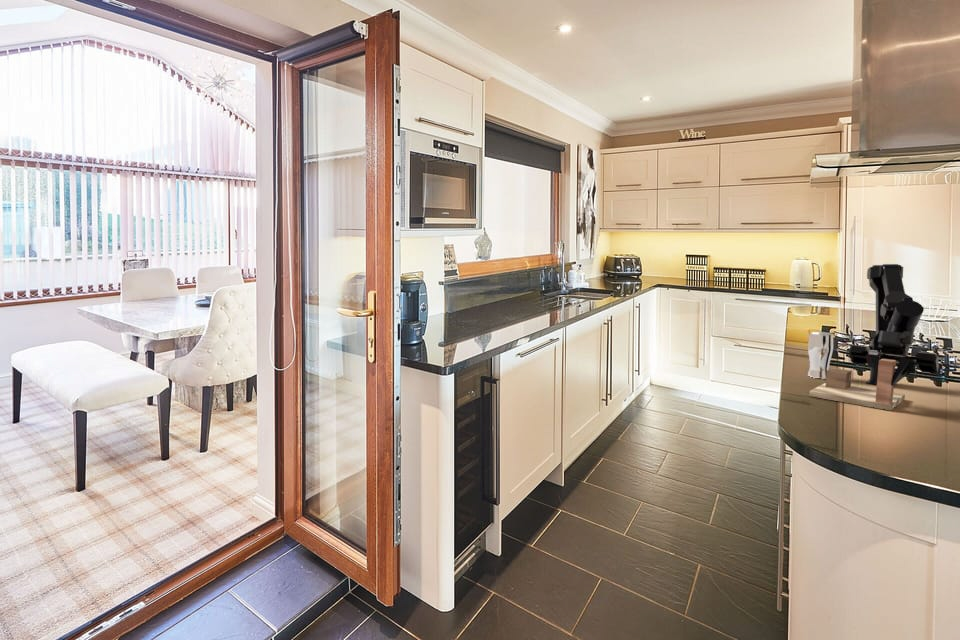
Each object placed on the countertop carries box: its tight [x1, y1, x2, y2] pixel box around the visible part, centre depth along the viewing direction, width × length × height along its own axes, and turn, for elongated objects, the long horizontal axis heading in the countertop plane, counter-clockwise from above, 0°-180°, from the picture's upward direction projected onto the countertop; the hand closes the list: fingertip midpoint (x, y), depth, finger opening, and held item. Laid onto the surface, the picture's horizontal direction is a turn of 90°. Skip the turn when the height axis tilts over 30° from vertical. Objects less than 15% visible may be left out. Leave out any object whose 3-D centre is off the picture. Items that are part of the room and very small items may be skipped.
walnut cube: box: [825, 367, 853, 390], centre depth 151 cm, size 5×5×5 cm
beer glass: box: [807, 331, 834, 380], centre depth 168 cm, size 7×7×15 cm
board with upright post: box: [808, 359, 906, 412], centre depth 144 cm, size 15×19×13 cm
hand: (884, 383), depth 134 cm, fingers closed on board with upright post, 3 cm apart
